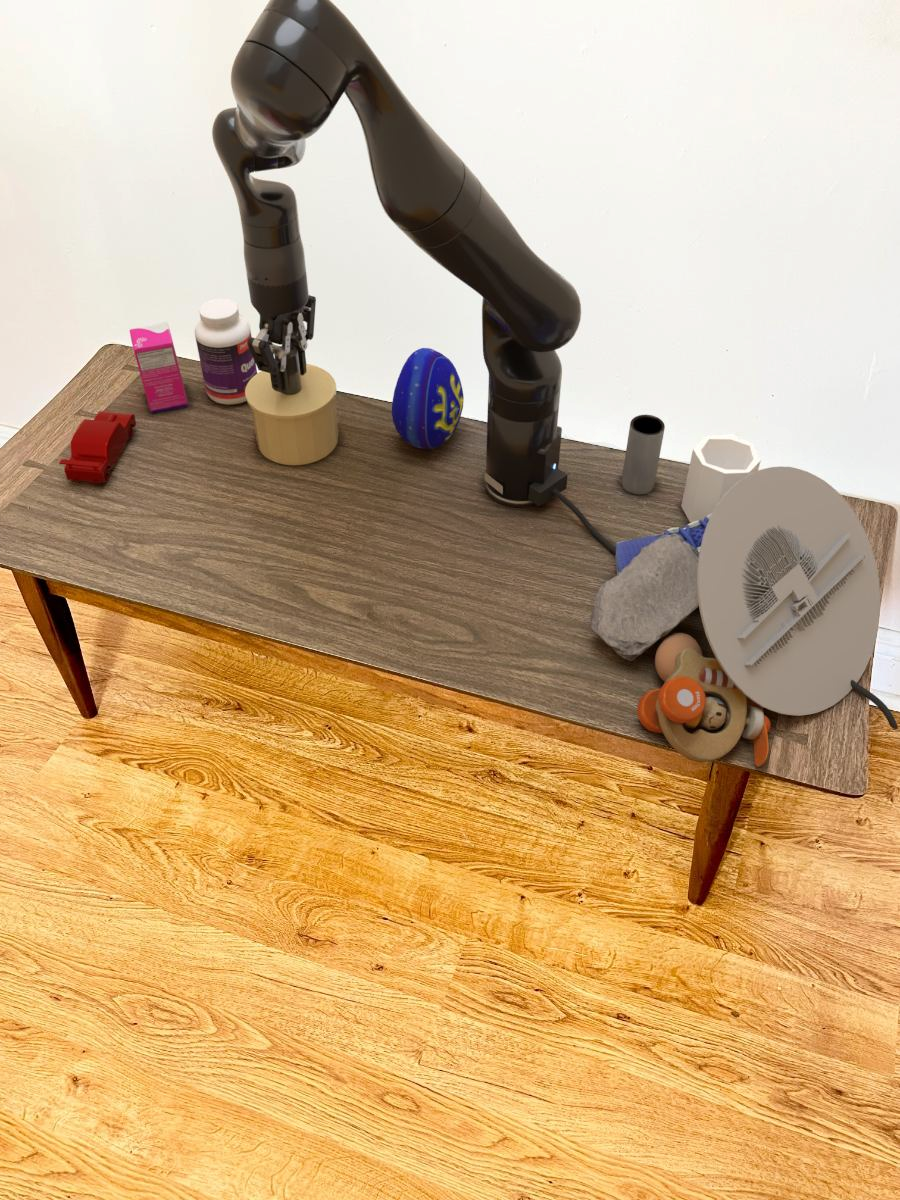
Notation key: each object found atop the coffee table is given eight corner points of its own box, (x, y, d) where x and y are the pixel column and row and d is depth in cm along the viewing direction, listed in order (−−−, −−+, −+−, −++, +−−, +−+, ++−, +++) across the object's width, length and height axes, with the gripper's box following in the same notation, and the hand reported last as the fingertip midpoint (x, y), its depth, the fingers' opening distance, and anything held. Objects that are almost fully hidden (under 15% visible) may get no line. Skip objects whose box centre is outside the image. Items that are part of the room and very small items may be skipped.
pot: (352, 428, 158) (348, 379, 152) (312, 474, 150) (306, 424, 144) (284, 408, 161) (277, 360, 155) (242, 452, 154) (233, 403, 148)
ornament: (435, 470, 151) (434, 381, 140) (380, 450, 154) (375, 361, 143) (473, 429, 158) (475, 340, 147) (419, 410, 161) (417, 322, 150)
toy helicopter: (649, 708, 111) (755, 790, 111) (747, 564, 118) (846, 641, 118) (622, 723, 119) (721, 800, 118) (715, 587, 126) (809, 659, 126)
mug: (742, 537, 141) (758, 479, 134) (677, 525, 143) (689, 467, 136) (750, 480, 149) (765, 423, 142) (688, 469, 151) (700, 412, 144)
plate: (773, 765, 117) (781, 766, 116) (656, 545, 111) (663, 544, 110) (910, 628, 129) (919, 627, 128) (810, 424, 124) (818, 422, 123)
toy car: (105, 490, 148) (96, 461, 144) (66, 486, 148) (57, 458, 145) (139, 429, 158) (132, 401, 154) (102, 425, 158) (95, 398, 154)
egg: (647, 691, 123) (652, 647, 128) (694, 702, 123) (697, 657, 127) (659, 661, 119) (663, 616, 124) (707, 672, 119) (710, 627, 123)
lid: (352, 382, 152) (349, 338, 147) (308, 432, 144) (302, 387, 139) (276, 361, 156) (270, 318, 150) (228, 408, 148) (220, 364, 143)
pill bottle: (255, 408, 161) (242, 324, 151) (202, 407, 161) (185, 323, 151) (263, 377, 167) (251, 294, 156) (211, 376, 167) (196, 293, 156)
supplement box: (145, 393, 164) (128, 327, 156) (184, 386, 165) (169, 320, 157) (149, 414, 160) (132, 348, 152) (189, 407, 161) (174, 341, 153)
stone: (577, 619, 129) (637, 676, 126) (572, 610, 125) (635, 669, 122) (666, 529, 129) (729, 583, 126) (665, 517, 125) (730, 573, 122)
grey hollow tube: (628, 497, 147) (638, 437, 139) (616, 477, 150) (625, 417, 142) (659, 491, 148) (670, 431, 140) (646, 471, 151) (656, 411, 143)
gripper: (271, 301, 130) (286, 416, 143) (329, 249, 139) (339, 362, 152) (219, 288, 133) (239, 402, 145) (279, 237, 142) (293, 349, 154)
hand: (290, 381), depth 148 cm, fingers open, 4 cm apart
